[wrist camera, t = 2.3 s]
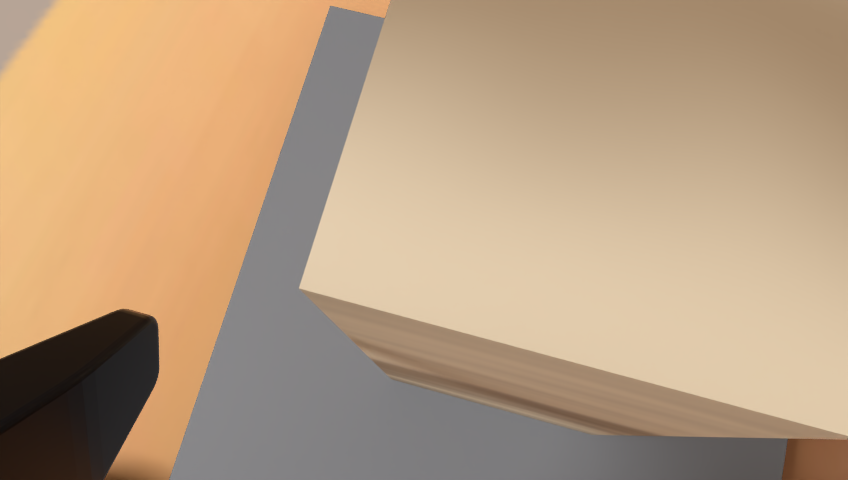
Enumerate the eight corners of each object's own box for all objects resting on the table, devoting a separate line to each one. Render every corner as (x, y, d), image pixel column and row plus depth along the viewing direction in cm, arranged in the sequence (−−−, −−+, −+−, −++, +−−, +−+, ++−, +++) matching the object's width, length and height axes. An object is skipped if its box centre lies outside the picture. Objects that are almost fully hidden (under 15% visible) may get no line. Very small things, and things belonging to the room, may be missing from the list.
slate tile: (739, 684, 17) (749, 694, 16) (166, 511, 18) (157, 514, 18) (824, 131, 20) (835, 122, 20) (333, 17, 22) (330, 5, 21)
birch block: (591, 434, 18) (862, 439, 6) (391, 379, 18) (297, 288, 7) (633, 239, 19) (925, -61, 7) (443, 192, 20) (441, -161, 8)
